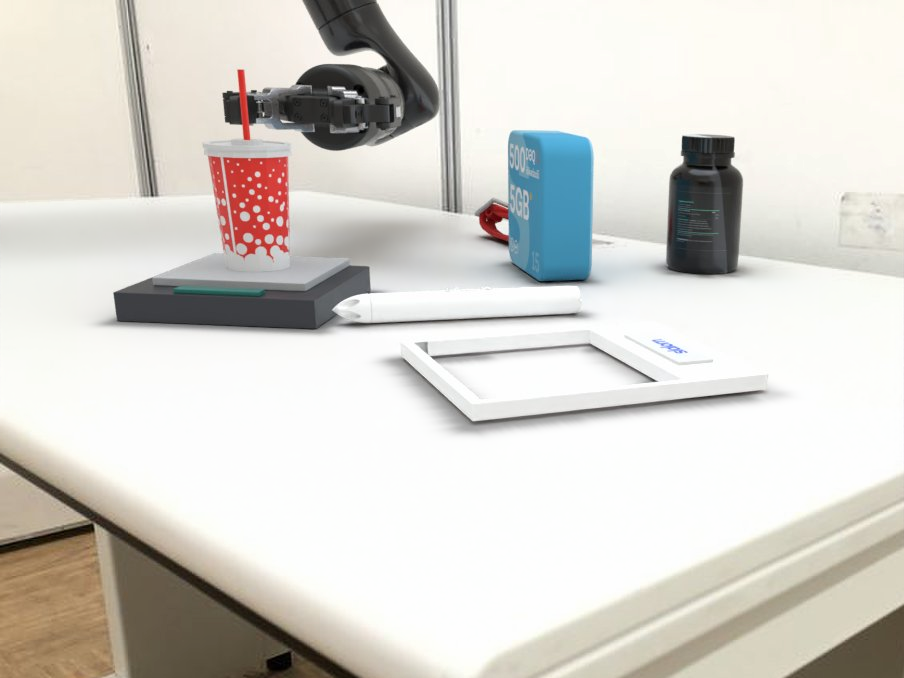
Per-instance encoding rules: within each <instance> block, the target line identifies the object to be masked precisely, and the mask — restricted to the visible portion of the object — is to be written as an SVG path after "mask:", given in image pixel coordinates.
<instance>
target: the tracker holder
mask: <svg viewBox="0 0 904 678" xmlns="http://www.w3.org/2000/svg"><path fill="white" fill-rule="evenodd" d="M474 216H476V217H478V223H479V225H480V227H481V229H482V230H483V231H484V232H485V233H486V234H488V235H489V236H492V237H493V238H496V239H500V240H502V241H505V242H508V243H509V234H504V233H503V232H502V231H500V230H499V229H498V228H497V225H496V224H498V223H501V222H502V221H503V219H504V220H508V221H509V213H508V202H505V201H503V200H501V199H498V198H496V197H491V199H489V200H488V201H487V202H486V203H485V204H483V205H482V206H481V207H479V208H478V209H477V210H476V211H475V212H474Z"/></svg>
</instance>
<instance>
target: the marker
mask: <svg viewBox="0 0 904 678" xmlns="http://www.w3.org/2000/svg"><path fill="white" fill-rule="evenodd" d="M581 299H582V297H581V291H580V288H579V286H577V285H553V286H523V287H506V288H505V287H504V288H503V287H501V288H499V287H498V288H491V287H490V286H484V287H483V285H481V287H480V288H465V289H464V288H462V286H460V288H458V287H453V289H449V288H448V287H446V288H445V289H444V290H423V291H422V290H421V291H404V292H403V291H400V292H399V291H398V292H374V293H373V292H372V293H371V292H368V293H367V294H360V295H355V296H352V297H350V298H347V299H345V300H343V301H342V302H340V303H339V304H337V305H336V306H335V307H334V308H333V309H332V310H333V311H334V312H335V313H336V315H338V316H340V317H342V318H344V319H347V320H349V321H351V322H356V323H359V324H380V323H382V324H383V323H400V322H401V323H402V322H403V323H405V322H423V321H443V320H447V321H448V320H464V319H466V320H468V319H486V318H488V319H489V318H507V317H508V318H510V317H527V316H528V317H529V316H549V315H551V316H552V315H569V314H570V315H571V314H577V313H579V312H580V311H581V306H582V301H581Z"/></svg>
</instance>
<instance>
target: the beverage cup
mask: <svg viewBox="0 0 904 678" xmlns="http://www.w3.org/2000/svg"><path fill="white" fill-rule="evenodd" d="M236 71H237V83H238V92H239V94H240V105H241V116H242V125H241V126H242V136H243V137H242V138H231V139H227V140H225V139H223V140H210V141H209V140H207V141H204V142H202V144H201V145H202V148H203V150H204V151H203V155H205V156H207V160H208V166H209V173H210V177H211V184H212V189H213V190H212V191H213V196H214V201H215V209H216V214H217V220H218V227H219V233H220V238H221V239H220V240H221V246H222V251H223V253H224V258H225V264H226V268H227V269H229V270H234V271H242V272H267V271H277V270H283V269H286V268H289V267H290V256H291V240H290V239H291V238H290V237H291V236H290V232H291V231H290V186H289V185H290V180H289V177H290V175H289V157H291V156H292V151H291V149H292V143H290V142H288V141H276V140H264V139H261V138H251V130H250V126H249V118H248V106H247V95H246V92H247V86H246V85H247V84H246V74H245V69H243V68H242V69H239V68H238V69H236Z"/></svg>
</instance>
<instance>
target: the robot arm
mask: <svg viewBox="0 0 904 678" xmlns="http://www.w3.org/2000/svg"><path fill="white" fill-rule="evenodd" d="M301 2H302V3H303V5H304V8H305V9H306V11H307V13H308V15H309V17H310V19H311V20H312V22H313V24H314V27H315V29H316V30H317V31H318V32H317V33H318V34H319V36H320V38H321V40H322V42H323V44H324V45H325V48H326V49H327V50H328V51H329V53H330V54H332V55H333V56H336V57H345V56H351V55H355V54H358V53H363V52H370V51H371V52H374V53H376V54H377V55H378V56H379V57H381V58H382V59H383V60H384V62H385V64H384V65H382V66H380V67H378V68H374V67H368V66H361V65H357V64H350V63H322V64H317V65H315V66H312V67H310V68H309V69H307V70H306V71H304V72H303V73H302V74H301V75H300V76H299V77H298V79H297V80H296V82H295V84H292V85H290V87H264V88H262V90H261V91H258V90H257V89H251V90H250V91H246V95H247V106H248V118H249V127H251V126H252V127H253V126H254V125H264V126H265V128H266V129H268V130H277V131H280V130H281V131H283V130H284V131H287V130H288V131H289V130H294V132H300V133H301V134H302V136H303V137H304V138H305V139H306V140H308V141H309V143H311V144H313V145H314V146H315V147H318V148H320V149H323V150H327V151H331V152H332V151H333V152H339V151H345V150H351V149H354V148H355V149H356V148H359V147H364V146H367V147H376V146H380V145H382V144H385V143H387V142H389V141H391V140H393V139H395V138H398V137H400V136H402V135H404V134H406V133H408V132H410V131H412V130H415V129H417V128H418V127H420V126H422V125H424V124H426V123H429V122H430V121H432V120H434V119H435V118H436V116H438V114H439V111H440V109H441V108H440V107H441V94H440V91H439V90H440V89H439V86H438V83H436V80H435V79H434V77H433V76H432V74H431V73H430V72H429V71H428V70H427V68H426V67H425V66H424V64H423V63H422V62H421V61H420V60H419V59H418V57H416V55H414V53H413V52H412V51H411V50H410V49H409V48H408V46H407V45H406V44H405V43H404V41H403V40H402V39H401V38H400V36H399V35H398V33H397V32H396V31H395V29H394V28H393V27H392V25H391V24H390V22H389V21H388V19H387V17H386V16H385V14H384V12H383V10H382V9H381V8H382V7H381V6H380V4H379V3H378V0H301ZM221 94H222V104H223V115H224V123H226V124H229V125H234V126H235V125H236V126H242V116H241V105H240V94H239V91H233V90H226V91H225V92H222V93H221ZM283 121H284V122H283ZM285 121H286V122H285Z"/></svg>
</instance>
